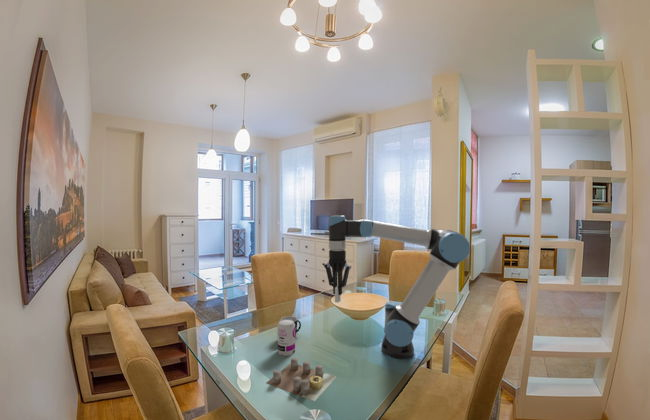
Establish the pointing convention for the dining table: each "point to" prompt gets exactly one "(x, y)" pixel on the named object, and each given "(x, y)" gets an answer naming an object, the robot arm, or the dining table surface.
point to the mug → (294, 322)
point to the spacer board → (290, 377)
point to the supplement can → (286, 337)
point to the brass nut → (315, 382)
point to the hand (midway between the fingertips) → (337, 301)
